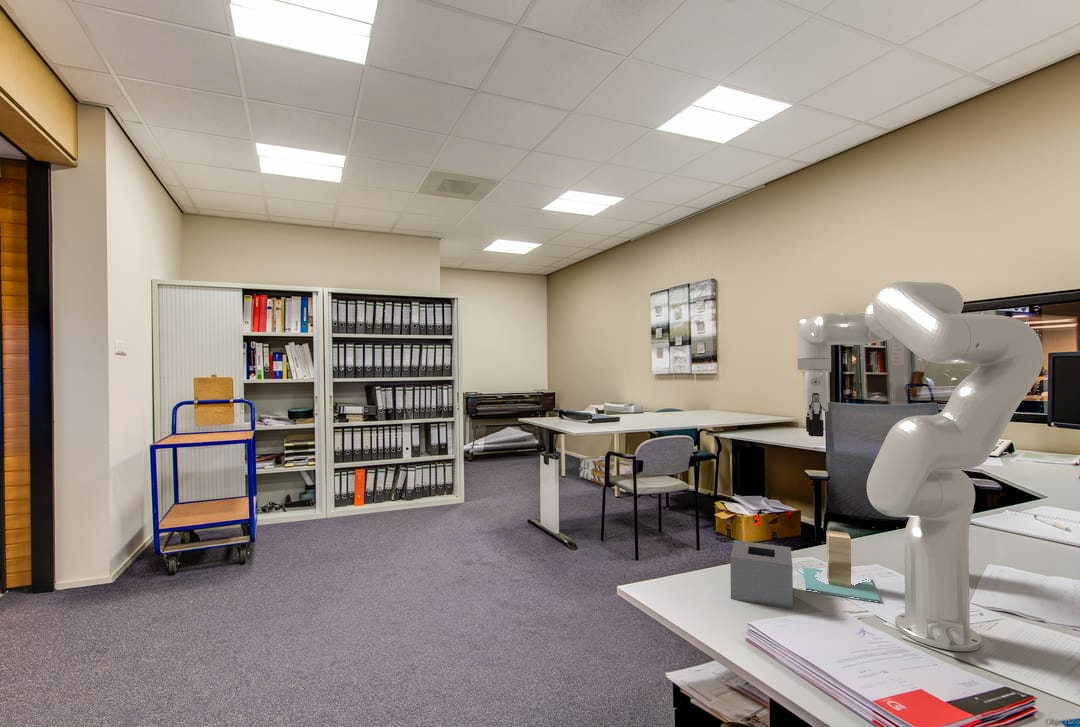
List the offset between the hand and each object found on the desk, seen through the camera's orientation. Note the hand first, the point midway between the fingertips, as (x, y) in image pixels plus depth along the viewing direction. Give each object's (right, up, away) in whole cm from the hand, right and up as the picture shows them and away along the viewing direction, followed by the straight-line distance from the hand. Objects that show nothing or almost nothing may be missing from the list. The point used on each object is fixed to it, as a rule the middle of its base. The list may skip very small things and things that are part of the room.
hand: (814, 434), depth 128 cm
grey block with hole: (-20, -33, -16) cm, 42 cm away
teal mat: (-1, -33, -11) cm, 35 cm away
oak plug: (-1, -33, -11) cm, 34 cm away
